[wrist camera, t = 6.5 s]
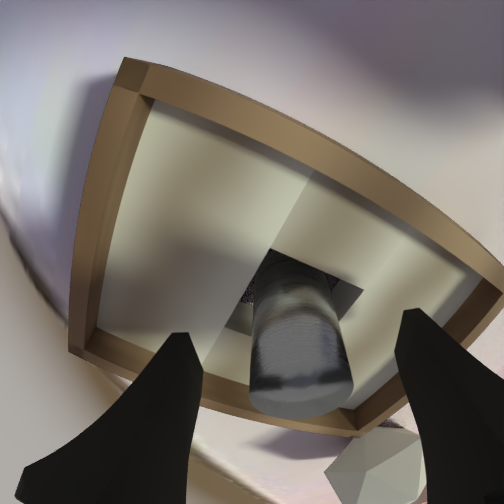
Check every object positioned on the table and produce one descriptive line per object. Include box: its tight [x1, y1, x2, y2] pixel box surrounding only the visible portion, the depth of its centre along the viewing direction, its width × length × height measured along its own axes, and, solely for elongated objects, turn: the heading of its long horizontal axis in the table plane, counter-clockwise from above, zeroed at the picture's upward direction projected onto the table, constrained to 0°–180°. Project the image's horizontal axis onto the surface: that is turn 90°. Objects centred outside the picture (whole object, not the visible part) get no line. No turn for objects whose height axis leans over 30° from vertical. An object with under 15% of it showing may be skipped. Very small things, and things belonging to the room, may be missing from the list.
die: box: [324, 426, 426, 504], centre depth 18 cm, size 8×9×10 cm
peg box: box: [68, 57, 504, 438], centre depth 12 cm, size 16×12×4 cm
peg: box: [249, 250, 354, 419], centre depth 10 cm, size 3×3×6 cm
